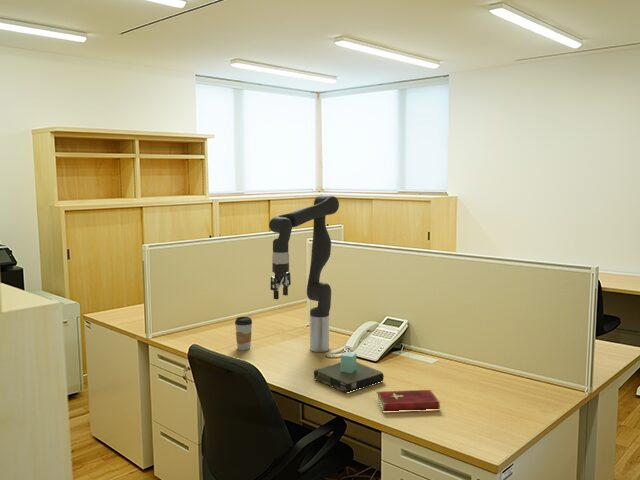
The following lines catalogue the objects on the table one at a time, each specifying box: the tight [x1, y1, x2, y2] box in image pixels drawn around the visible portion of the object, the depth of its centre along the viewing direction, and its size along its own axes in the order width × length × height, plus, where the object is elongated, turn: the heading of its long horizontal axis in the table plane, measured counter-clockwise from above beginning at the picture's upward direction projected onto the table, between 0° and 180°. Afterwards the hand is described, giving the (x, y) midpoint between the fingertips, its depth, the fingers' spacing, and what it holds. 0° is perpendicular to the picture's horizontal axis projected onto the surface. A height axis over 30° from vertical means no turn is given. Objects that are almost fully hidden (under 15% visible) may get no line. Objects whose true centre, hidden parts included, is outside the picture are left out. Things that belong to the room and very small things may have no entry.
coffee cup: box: [234, 316, 253, 351], centre depth 282 cm, size 8×8×15 cm
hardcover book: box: [376, 389, 441, 412], centre depth 215 cm, size 12×21×4 cm, turn 96°
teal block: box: [340, 351, 357, 373], centre depth 239 cm, size 5×5×7 cm
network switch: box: [313, 361, 384, 393], centre depth 240 cm, size 23×23×5 cm
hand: (280, 297), depth 260 cm, fingers open, 8 cm apart
